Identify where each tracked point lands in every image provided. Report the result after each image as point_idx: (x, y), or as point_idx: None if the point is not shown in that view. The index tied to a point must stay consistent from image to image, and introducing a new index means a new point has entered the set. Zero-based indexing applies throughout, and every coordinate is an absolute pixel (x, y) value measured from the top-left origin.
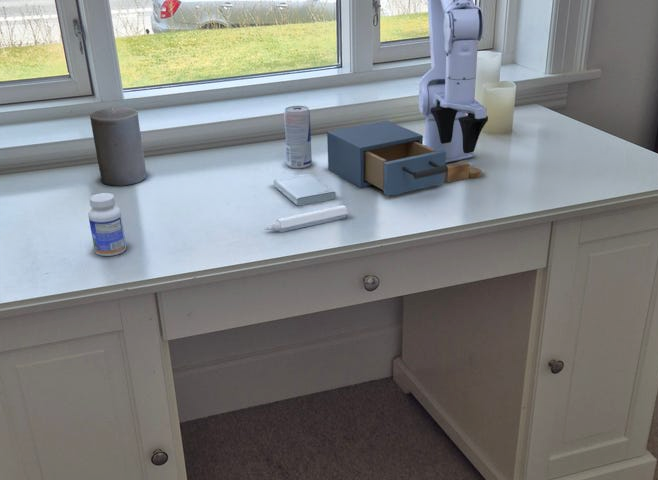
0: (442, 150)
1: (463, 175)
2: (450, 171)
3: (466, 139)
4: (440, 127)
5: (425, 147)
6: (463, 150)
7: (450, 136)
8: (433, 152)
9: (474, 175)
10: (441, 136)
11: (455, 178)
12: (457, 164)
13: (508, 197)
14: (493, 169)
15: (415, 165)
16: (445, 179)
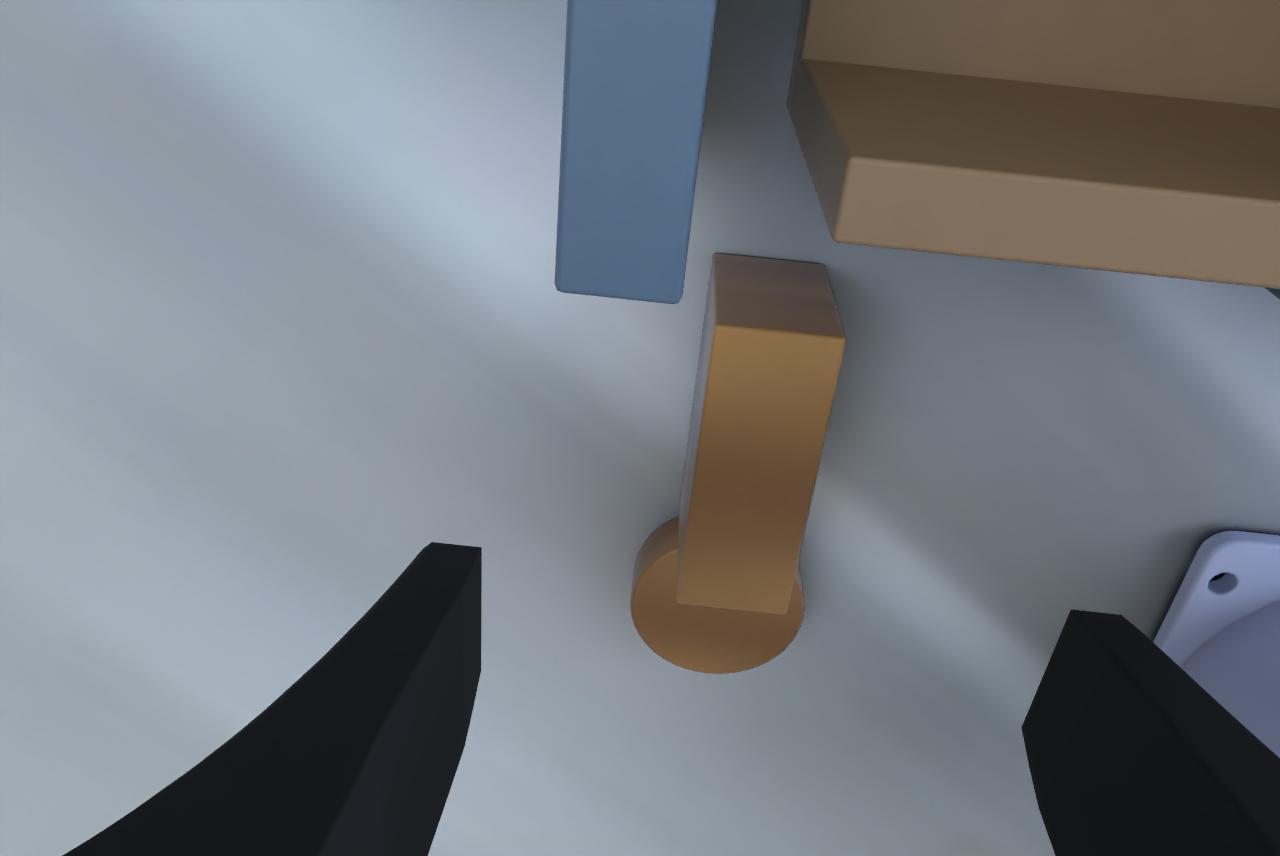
0: (655, 283)
1: (686, 466)
2: (709, 338)
3: (285, 698)
4: (1247, 826)
5: (1126, 191)
6: (464, 562)
7: (1057, 797)
8: (679, 40)
9: (644, 554)
10: (1138, 687)
11: (700, 365)
12: (748, 498)
13: (22, 416)
14: (709, 766)
15: None
16: (760, 266)
